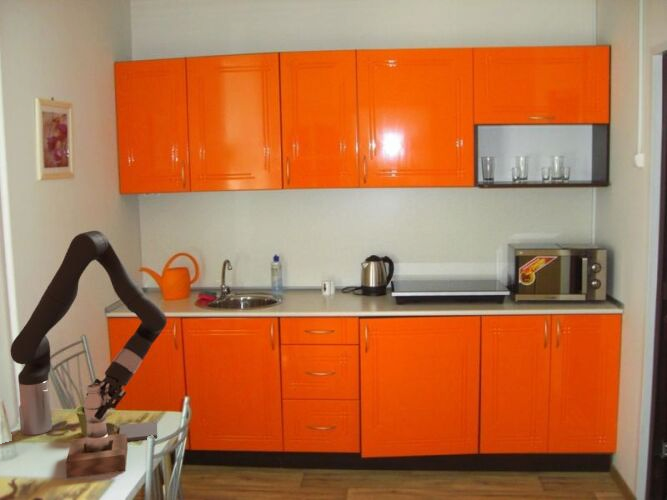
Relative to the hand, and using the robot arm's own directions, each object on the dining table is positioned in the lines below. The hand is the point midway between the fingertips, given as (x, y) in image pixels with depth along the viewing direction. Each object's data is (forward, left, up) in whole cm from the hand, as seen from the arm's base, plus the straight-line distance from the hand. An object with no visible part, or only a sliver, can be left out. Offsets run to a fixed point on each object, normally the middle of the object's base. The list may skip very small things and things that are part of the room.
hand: (90, 415), depth 199 cm
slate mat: (+12, +21, -15) cm, 29 cm away
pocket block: (+1, +1, -15) cm, 15 cm away
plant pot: (-3, +25, -16) cm, 29 cm away
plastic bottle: (+1, +1, -12) cm, 12 cm away
